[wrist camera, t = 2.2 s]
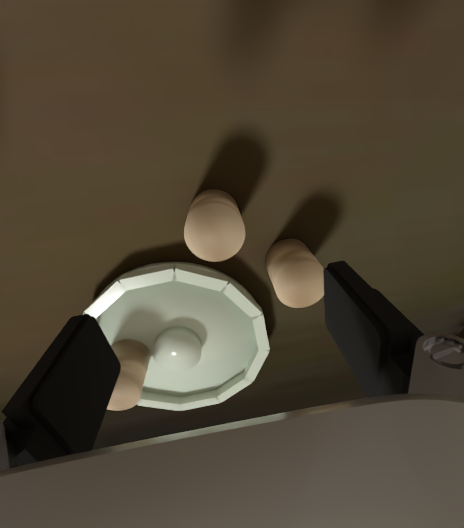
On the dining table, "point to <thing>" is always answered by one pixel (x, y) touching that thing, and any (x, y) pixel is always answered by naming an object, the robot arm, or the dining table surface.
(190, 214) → the tan egg
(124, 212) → the dining table surface
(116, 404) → the bead
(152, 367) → the pale green faceted plate
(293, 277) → the brown egg
